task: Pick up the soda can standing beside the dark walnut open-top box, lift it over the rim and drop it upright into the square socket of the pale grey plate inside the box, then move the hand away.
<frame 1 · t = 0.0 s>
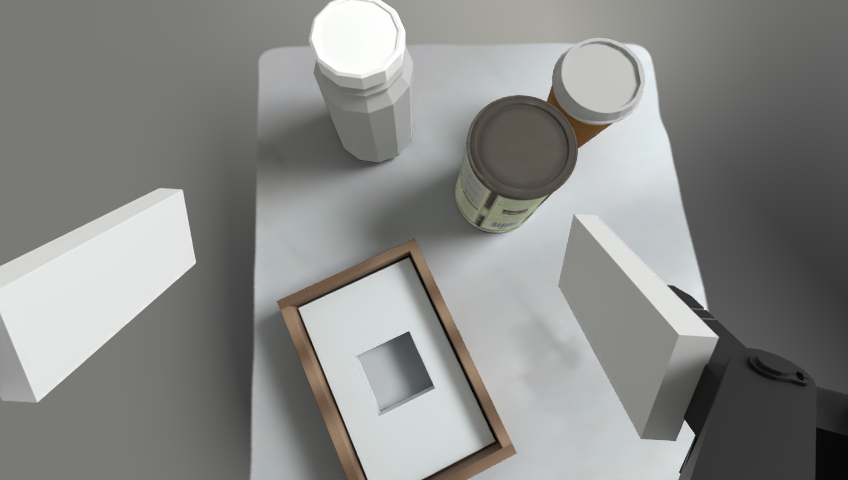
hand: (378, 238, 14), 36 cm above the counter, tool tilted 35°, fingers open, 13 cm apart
coffee can: (494, 193, 53), on the counter
socket plate: (394, 371, 46), in the open box
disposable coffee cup: (562, 130, 55), on the counter
jar: (376, 131, 54), on the counter
open box: (395, 370, 48), on the counter
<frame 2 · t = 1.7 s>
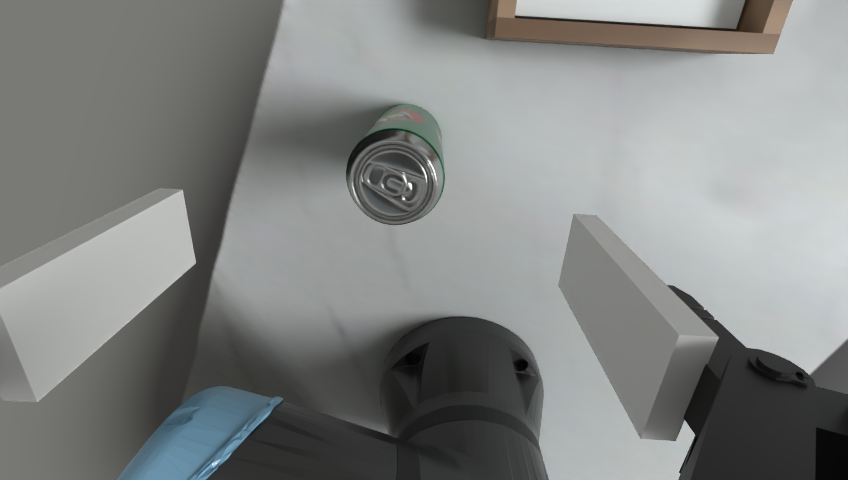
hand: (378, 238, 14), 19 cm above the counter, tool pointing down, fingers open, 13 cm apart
soda can: (407, 138, 32), on the counter
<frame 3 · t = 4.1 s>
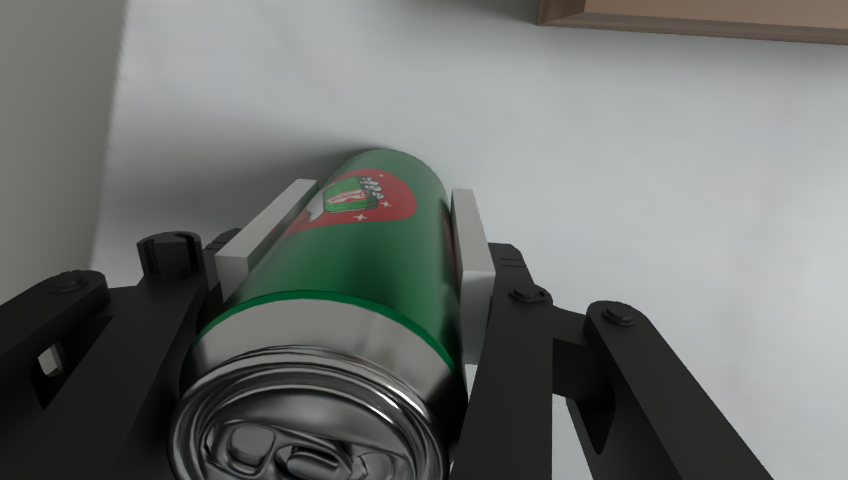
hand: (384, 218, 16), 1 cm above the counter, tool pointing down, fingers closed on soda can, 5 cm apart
soda can: (387, 205, 18), on the counter, touching gripper
when the fingers open (5 cm above the counter, at t = 10.4 s): soda can drops 4 cm, resting in socket plate.
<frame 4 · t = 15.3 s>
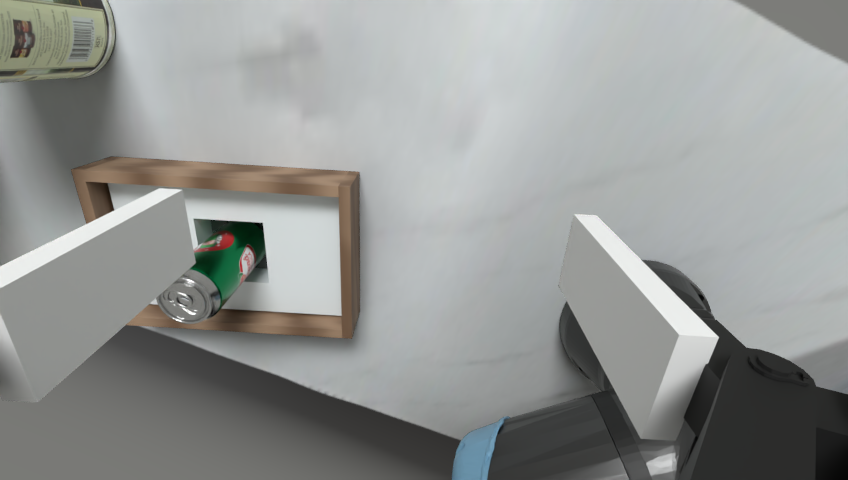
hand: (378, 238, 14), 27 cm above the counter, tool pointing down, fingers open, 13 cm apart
coffee can: (56, 15, 36), on the counter
socket plate: (238, 245, 43), in the open box
soda can: (246, 239, 44), resting in socket plate
open box: (245, 239, 44), on the counter
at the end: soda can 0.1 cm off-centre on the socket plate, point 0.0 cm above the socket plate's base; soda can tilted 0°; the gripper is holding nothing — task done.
